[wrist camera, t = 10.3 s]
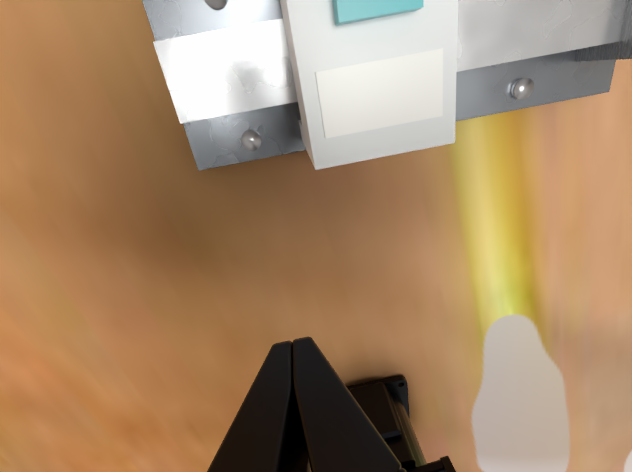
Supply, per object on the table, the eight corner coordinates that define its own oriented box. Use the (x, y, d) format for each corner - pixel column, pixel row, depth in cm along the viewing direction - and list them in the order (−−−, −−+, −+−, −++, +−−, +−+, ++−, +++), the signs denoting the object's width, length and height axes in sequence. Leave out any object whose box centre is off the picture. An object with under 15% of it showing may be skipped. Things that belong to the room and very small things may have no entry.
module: (397, 122, 17) (464, 145, 11) (302, 140, 17) (317, 174, 11) (388, -51, 14) (473, -146, 8) (271, -30, 14) (269, -111, 8)
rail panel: (595, 91, 18) (669, 94, 15) (201, 166, 18) (183, 188, 14) (634, -102, 15) (742, -157, 11) (141, -17, 14) (99, -47, 11)
